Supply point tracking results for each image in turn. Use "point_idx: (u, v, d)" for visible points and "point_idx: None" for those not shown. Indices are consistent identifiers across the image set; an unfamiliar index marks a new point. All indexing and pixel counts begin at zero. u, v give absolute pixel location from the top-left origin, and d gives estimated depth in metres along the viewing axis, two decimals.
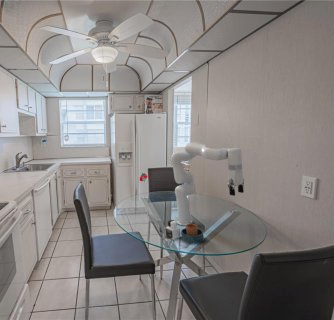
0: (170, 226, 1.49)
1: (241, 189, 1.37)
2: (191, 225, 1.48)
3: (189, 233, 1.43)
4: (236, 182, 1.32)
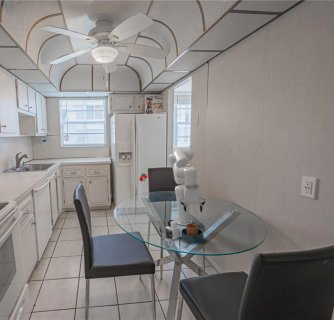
0: (170, 226, 1.49)
1: (200, 208, 1.42)
2: (191, 225, 1.48)
3: (189, 233, 1.43)
4: (187, 200, 1.42)
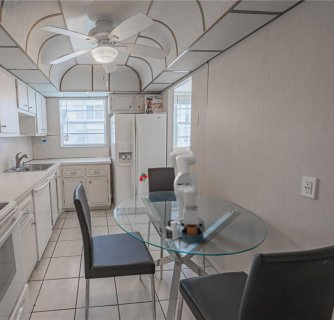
0: (170, 226, 1.49)
1: None
2: (191, 225, 1.48)
3: (189, 233, 1.43)
4: (186, 221, 1.44)
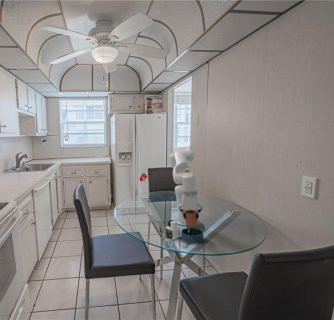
0: (170, 226, 1.49)
1: None
2: (190, 211, 1.48)
3: (188, 219, 1.43)
4: (185, 207, 1.44)
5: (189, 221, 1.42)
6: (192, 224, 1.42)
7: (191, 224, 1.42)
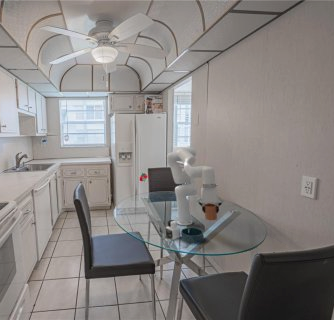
0: (170, 226, 1.49)
1: None
2: (209, 205, 1.43)
3: (208, 212, 1.38)
4: (204, 200, 1.39)
5: (209, 215, 1.37)
6: (212, 218, 1.37)
7: (211, 218, 1.37)
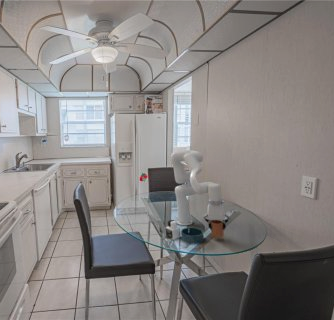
0: (170, 226, 1.49)
1: (223, 226, 1.38)
2: (215, 221, 1.43)
3: (214, 229, 1.37)
4: (210, 216, 1.38)
5: (216, 232, 1.37)
6: (219, 235, 1.36)
7: (218, 235, 1.36)
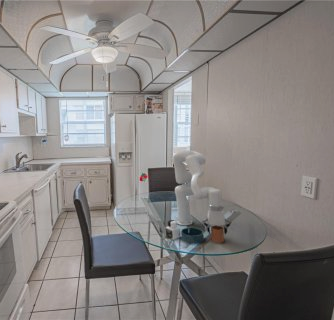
0: (170, 226, 1.49)
1: (224, 230, 1.38)
2: (216, 227, 1.43)
3: (215, 235, 1.38)
4: (211, 222, 1.39)
5: (216, 238, 1.37)
6: (219, 241, 1.37)
7: (218, 241, 1.37)
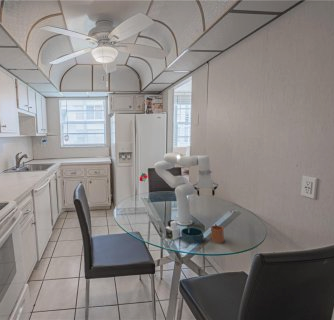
0: (170, 226, 1.49)
1: (212, 192, 1.53)
2: (216, 227, 1.43)
3: (215, 235, 1.38)
4: (200, 185, 1.54)
5: (216, 238, 1.37)
6: (219, 241, 1.37)
7: (218, 241, 1.37)
